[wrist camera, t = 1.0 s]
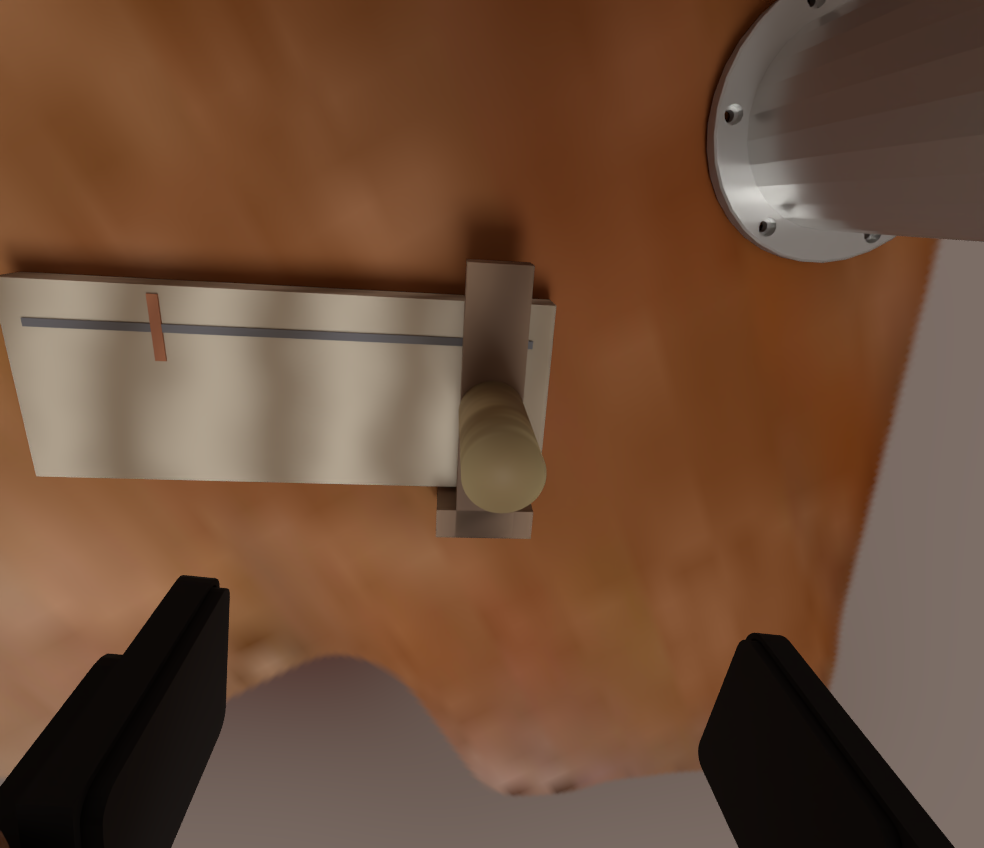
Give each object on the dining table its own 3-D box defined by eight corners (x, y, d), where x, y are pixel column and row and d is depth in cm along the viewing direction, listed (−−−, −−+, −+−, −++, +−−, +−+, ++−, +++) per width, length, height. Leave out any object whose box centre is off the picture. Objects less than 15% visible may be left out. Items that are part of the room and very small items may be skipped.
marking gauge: (545, 260, 29) (592, 287, 19) (523, 508, 34) (551, 628, 24) (445, 254, 29) (442, 280, 19) (437, 506, 34) (431, 627, 24)
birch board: (549, 299, 30) (556, 306, 28) (533, 473, 34) (538, 489, 32) (19, 271, 28) (-13, 276, 26) (60, 460, 32) (34, 477, 30)
